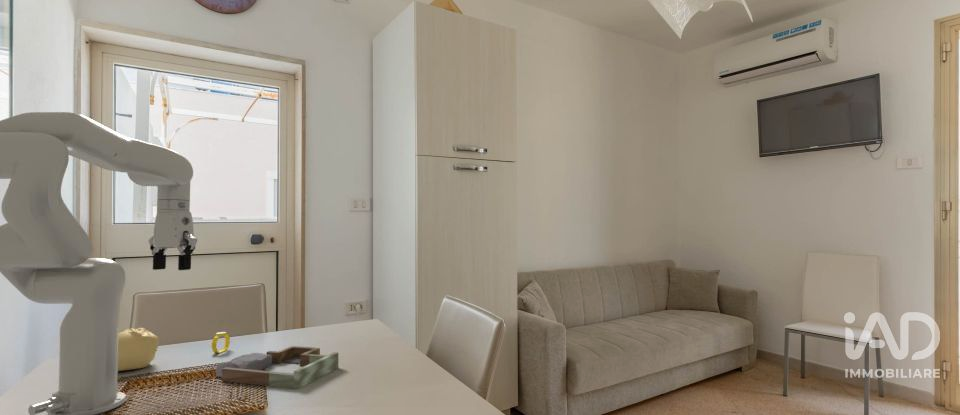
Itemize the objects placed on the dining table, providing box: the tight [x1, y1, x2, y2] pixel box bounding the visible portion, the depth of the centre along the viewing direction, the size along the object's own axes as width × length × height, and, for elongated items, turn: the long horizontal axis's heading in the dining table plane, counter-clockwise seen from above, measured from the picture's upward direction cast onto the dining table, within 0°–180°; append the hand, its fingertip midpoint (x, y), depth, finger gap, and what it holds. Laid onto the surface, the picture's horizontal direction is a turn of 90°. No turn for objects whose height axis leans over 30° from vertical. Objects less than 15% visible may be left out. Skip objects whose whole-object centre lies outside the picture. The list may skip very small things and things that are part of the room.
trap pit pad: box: [281, 357, 300, 365], centre depth 129 cm, size 5×7×1 cm
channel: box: [221, 345, 339, 390], centre depth 121 cm, size 22×22×4 cm
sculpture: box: [118, 327, 160, 372], centre depth 124 cm, size 11×12×11 cm
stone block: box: [215, 352, 273, 378], centre depth 121 cm, size 12×5×10 cm
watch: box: [211, 331, 231, 354], centre depth 139 cm, size 6×3×6 cm, turn 169°
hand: (171, 269), depth 124 cm, fingers open, 9 cm apart
